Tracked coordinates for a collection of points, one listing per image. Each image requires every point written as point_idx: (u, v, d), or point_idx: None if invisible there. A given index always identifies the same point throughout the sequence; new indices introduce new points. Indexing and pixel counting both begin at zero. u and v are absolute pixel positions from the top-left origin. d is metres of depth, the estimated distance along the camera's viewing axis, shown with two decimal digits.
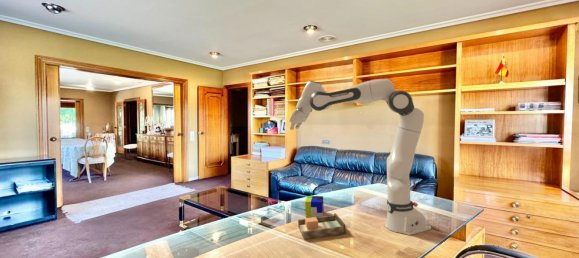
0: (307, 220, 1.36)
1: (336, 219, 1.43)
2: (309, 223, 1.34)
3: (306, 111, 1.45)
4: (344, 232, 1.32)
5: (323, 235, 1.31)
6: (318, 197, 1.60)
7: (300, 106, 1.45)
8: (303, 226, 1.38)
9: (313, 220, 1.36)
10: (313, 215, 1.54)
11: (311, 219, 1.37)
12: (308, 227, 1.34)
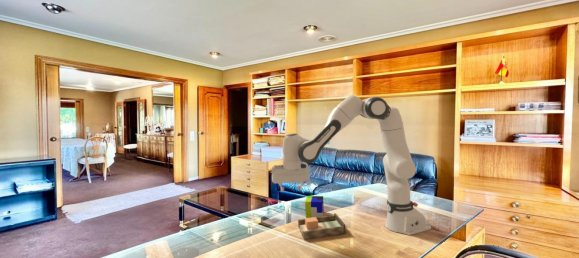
0: (307, 220, 1.36)
1: (336, 219, 1.43)
2: (309, 223, 1.34)
3: (286, 167, 1.32)
4: (344, 232, 1.32)
5: (323, 235, 1.31)
6: (318, 197, 1.60)
7: None
8: (303, 226, 1.38)
9: (313, 220, 1.36)
10: (313, 215, 1.54)
11: (311, 219, 1.37)
12: (308, 227, 1.34)
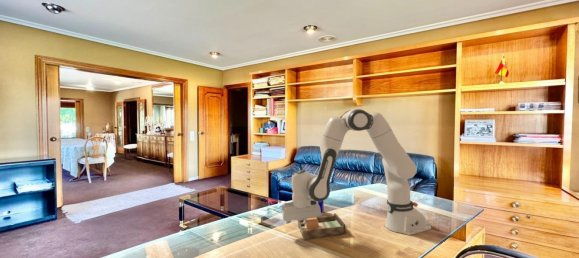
0: (307, 220, 1.36)
1: (336, 219, 1.43)
2: (309, 223, 1.34)
3: (296, 205, 1.32)
4: (344, 232, 1.32)
5: (323, 235, 1.31)
6: None
7: None
8: None
9: (313, 220, 1.36)
10: None
11: (311, 219, 1.37)
12: (308, 227, 1.34)
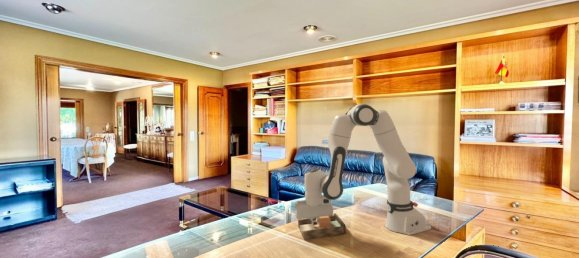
0: (320, 218, 1.37)
1: (336, 219, 1.43)
2: (322, 221, 1.35)
3: (309, 203, 1.33)
4: (344, 232, 1.32)
5: (323, 235, 1.31)
6: None
7: (305, 199, 1.36)
8: (303, 226, 1.38)
9: (326, 218, 1.37)
10: None
11: (323, 217, 1.38)
12: (321, 225, 1.35)
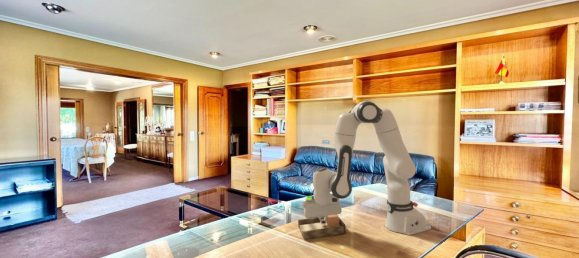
0: (328, 217, 1.38)
1: None
2: (330, 220, 1.36)
3: (318, 202, 1.34)
4: (344, 232, 1.32)
5: (323, 235, 1.31)
6: None
7: None
8: (303, 226, 1.38)
9: (334, 217, 1.38)
10: None
11: (332, 216, 1.39)
12: (329, 224, 1.36)
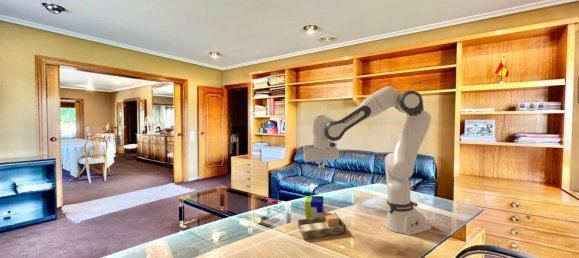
0: (328, 217, 1.38)
1: None
2: (330, 220, 1.36)
3: (317, 146, 1.42)
4: (344, 232, 1.32)
5: (323, 235, 1.31)
6: (318, 197, 1.60)
7: (313, 143, 1.46)
8: (303, 226, 1.38)
9: (334, 217, 1.38)
10: (313, 215, 1.54)
11: (332, 216, 1.39)
12: (329, 224, 1.36)
